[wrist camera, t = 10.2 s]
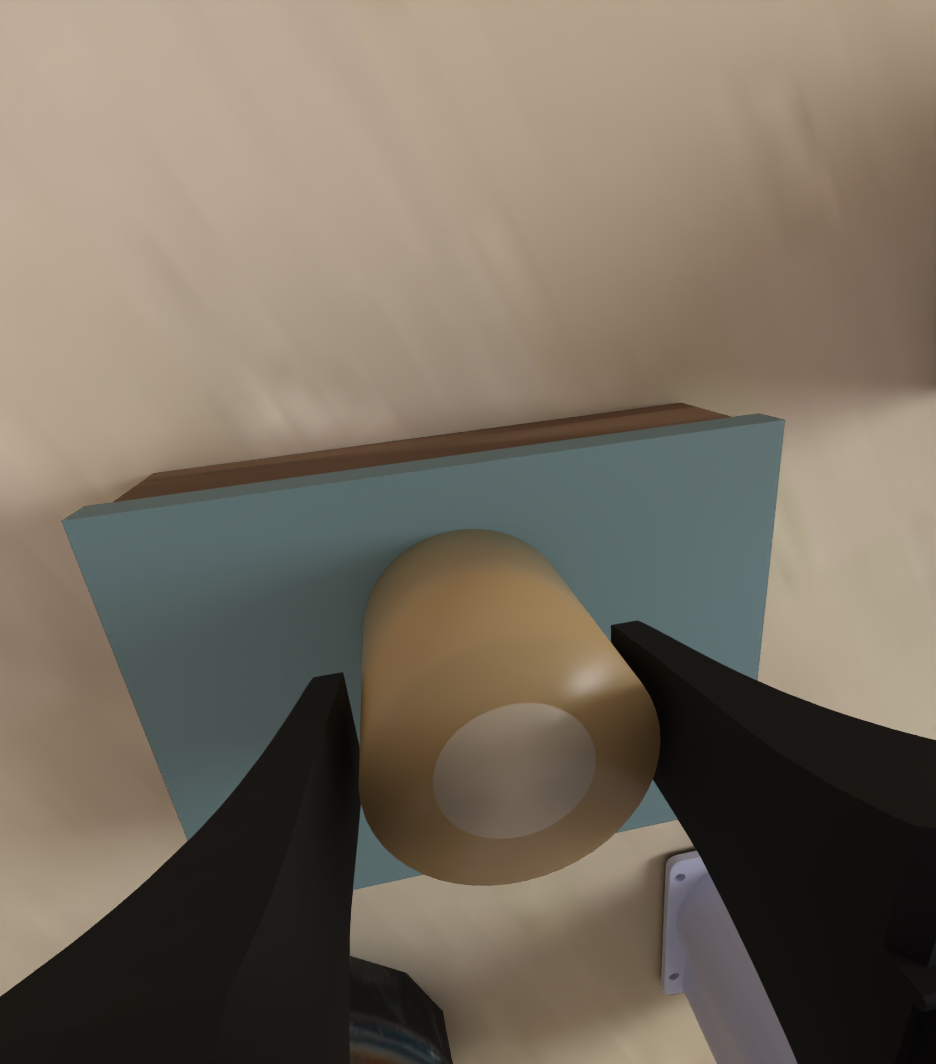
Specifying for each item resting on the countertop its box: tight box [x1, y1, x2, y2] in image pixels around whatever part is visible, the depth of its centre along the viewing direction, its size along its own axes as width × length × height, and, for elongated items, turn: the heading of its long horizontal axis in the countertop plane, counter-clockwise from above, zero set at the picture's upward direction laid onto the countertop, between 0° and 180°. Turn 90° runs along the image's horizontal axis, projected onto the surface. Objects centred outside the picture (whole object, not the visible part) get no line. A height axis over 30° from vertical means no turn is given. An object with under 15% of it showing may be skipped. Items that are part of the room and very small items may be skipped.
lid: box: [62, 413, 785, 890], centre depth 15 cm, size 12×16×1 cm
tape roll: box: [359, 529, 660, 886], centre depth 12 cm, size 5×5×5 cm
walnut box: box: [112, 403, 730, 503], centre depth 17 cm, size 12×16×4 cm
